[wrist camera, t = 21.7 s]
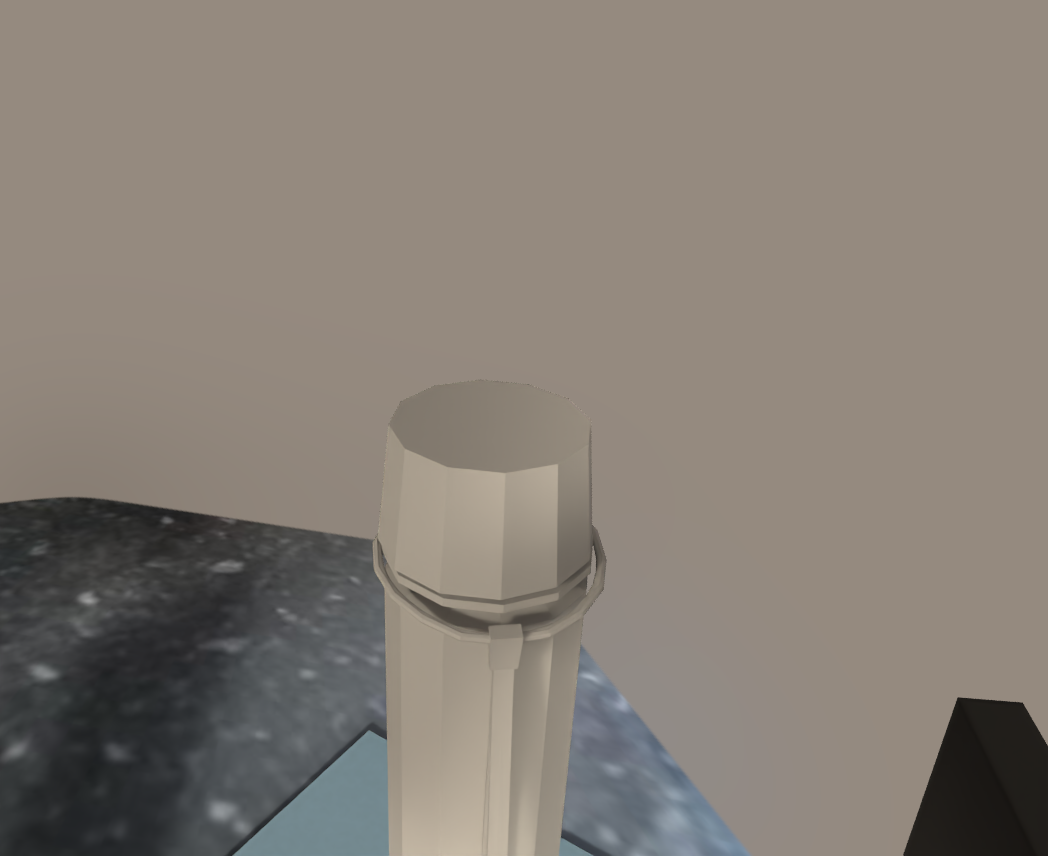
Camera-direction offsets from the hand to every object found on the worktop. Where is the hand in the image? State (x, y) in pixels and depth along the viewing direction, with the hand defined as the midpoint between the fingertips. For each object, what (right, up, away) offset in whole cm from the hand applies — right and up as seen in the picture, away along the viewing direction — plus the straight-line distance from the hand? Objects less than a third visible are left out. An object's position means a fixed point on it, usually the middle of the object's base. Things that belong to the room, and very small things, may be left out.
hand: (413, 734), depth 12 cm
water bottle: (-1, -19, +29) cm, 34 cm away
